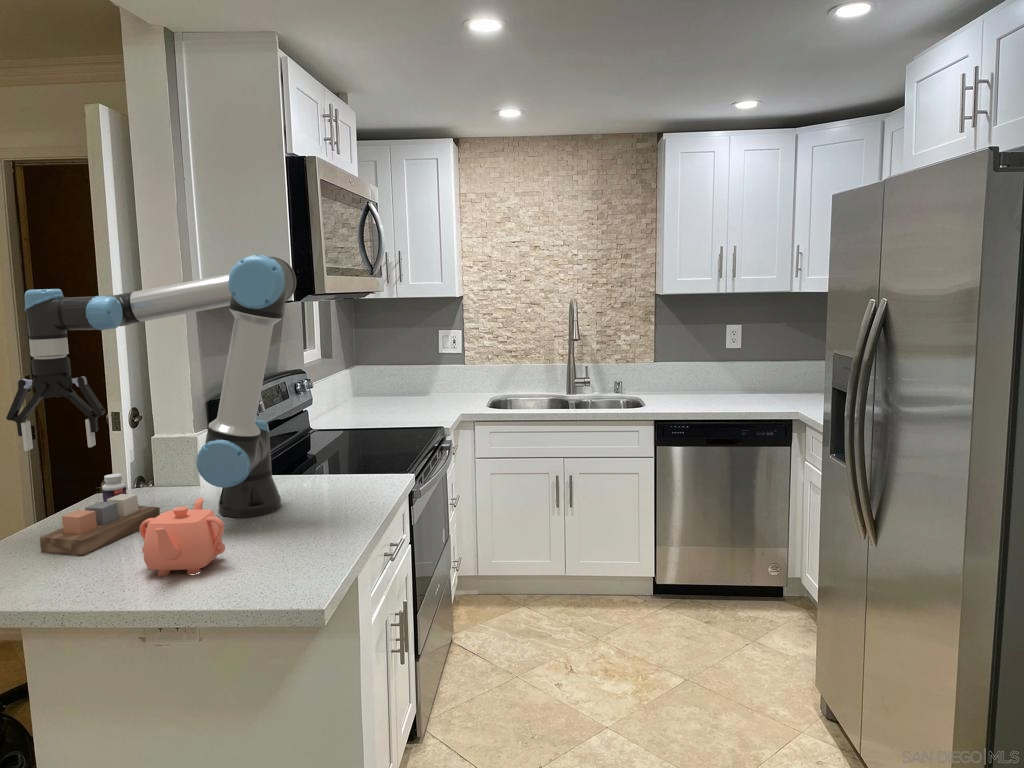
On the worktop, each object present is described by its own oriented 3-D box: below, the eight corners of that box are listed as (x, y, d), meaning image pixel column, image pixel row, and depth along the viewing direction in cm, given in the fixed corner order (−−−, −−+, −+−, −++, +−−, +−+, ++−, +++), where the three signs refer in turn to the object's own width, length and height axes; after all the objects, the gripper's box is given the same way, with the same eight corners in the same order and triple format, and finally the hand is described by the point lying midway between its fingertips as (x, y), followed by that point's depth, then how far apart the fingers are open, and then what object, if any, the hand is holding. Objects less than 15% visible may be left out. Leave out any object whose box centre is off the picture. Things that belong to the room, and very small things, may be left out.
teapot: (160, 589, 144) (154, 525, 142) (133, 566, 156) (128, 507, 154) (237, 568, 154) (232, 508, 152) (206, 547, 166) (202, 492, 164)
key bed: (160, 521, 185) (159, 507, 185) (82, 556, 162) (81, 540, 162) (122, 518, 188) (121, 504, 188) (41, 552, 165) (39, 537, 165)
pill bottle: (118, 516, 190) (114, 478, 189) (99, 515, 191) (95, 477, 190) (132, 509, 195) (129, 473, 194) (114, 508, 197) (111, 472, 195)
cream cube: (139, 514, 183) (137, 494, 182) (125, 520, 178) (123, 500, 178) (123, 513, 184) (121, 493, 183) (108, 519, 180) (106, 499, 179)
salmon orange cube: (97, 532, 170) (95, 511, 170) (81, 539, 166) (79, 517, 165) (80, 531, 172) (78, 509, 171) (64, 538, 167) (61, 516, 166)
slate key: (119, 523, 177) (117, 502, 176) (103, 529, 172) (101, 508, 171) (102, 522, 178) (100, 501, 177) (87, 528, 173) (85, 507, 173)
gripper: (114, 353, 178) (123, 441, 181) (-2, 357, 174) (9, 447, 177) (102, 356, 171) (112, 448, 174) (-19, 361, 167) (-7, 454, 170)
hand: (60, 448), depth 175 cm, fingers open, 13 cm apart
